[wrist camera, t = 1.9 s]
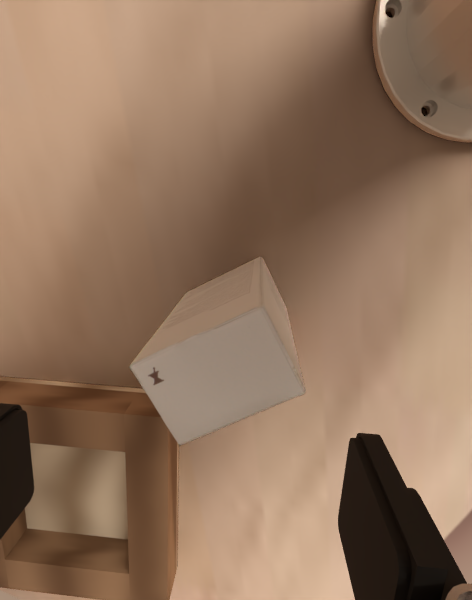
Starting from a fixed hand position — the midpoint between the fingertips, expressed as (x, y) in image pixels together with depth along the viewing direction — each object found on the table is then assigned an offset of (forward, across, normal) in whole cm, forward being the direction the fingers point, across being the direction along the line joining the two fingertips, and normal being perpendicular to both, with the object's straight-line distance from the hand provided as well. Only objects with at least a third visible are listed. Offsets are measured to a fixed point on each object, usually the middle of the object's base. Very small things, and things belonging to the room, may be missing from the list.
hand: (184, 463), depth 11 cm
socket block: (+17, +12, +15) cm, 25 cm away
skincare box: (+16, 0, -1) cm, 17 cm away
